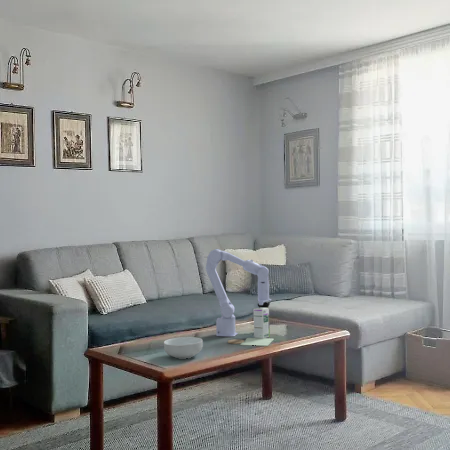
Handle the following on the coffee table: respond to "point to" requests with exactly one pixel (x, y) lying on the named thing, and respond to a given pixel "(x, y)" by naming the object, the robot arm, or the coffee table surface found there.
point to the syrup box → (261, 322)
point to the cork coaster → (235, 341)
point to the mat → (257, 341)
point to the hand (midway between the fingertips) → (264, 317)
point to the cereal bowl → (183, 347)
